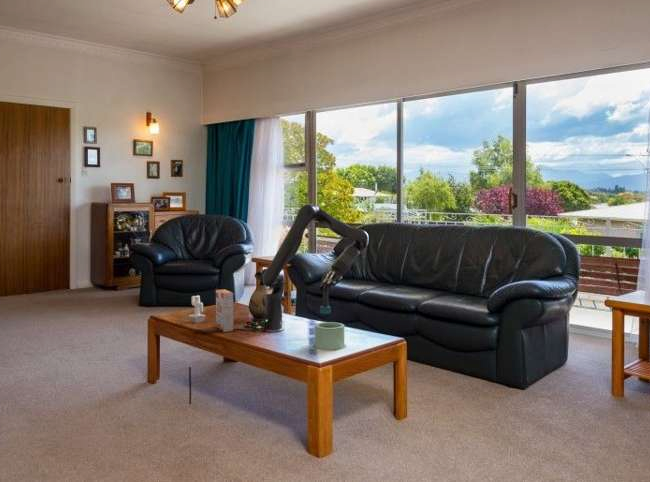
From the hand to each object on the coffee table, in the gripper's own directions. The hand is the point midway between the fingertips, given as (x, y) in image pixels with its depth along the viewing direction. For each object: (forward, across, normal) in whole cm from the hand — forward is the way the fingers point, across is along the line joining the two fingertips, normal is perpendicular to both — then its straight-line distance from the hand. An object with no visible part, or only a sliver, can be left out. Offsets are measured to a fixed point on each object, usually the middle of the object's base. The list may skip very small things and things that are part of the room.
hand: (322, 290), depth 269 cm
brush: (+6, 0, +9) cm, 11 cm away
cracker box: (+36, -59, +2) cm, 70 cm away
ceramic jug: (+15, -73, +24) cm, 78 cm away
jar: (+17, +2, +21) cm, 27 cm away
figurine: (+40, -87, 0) cm, 96 cm away
